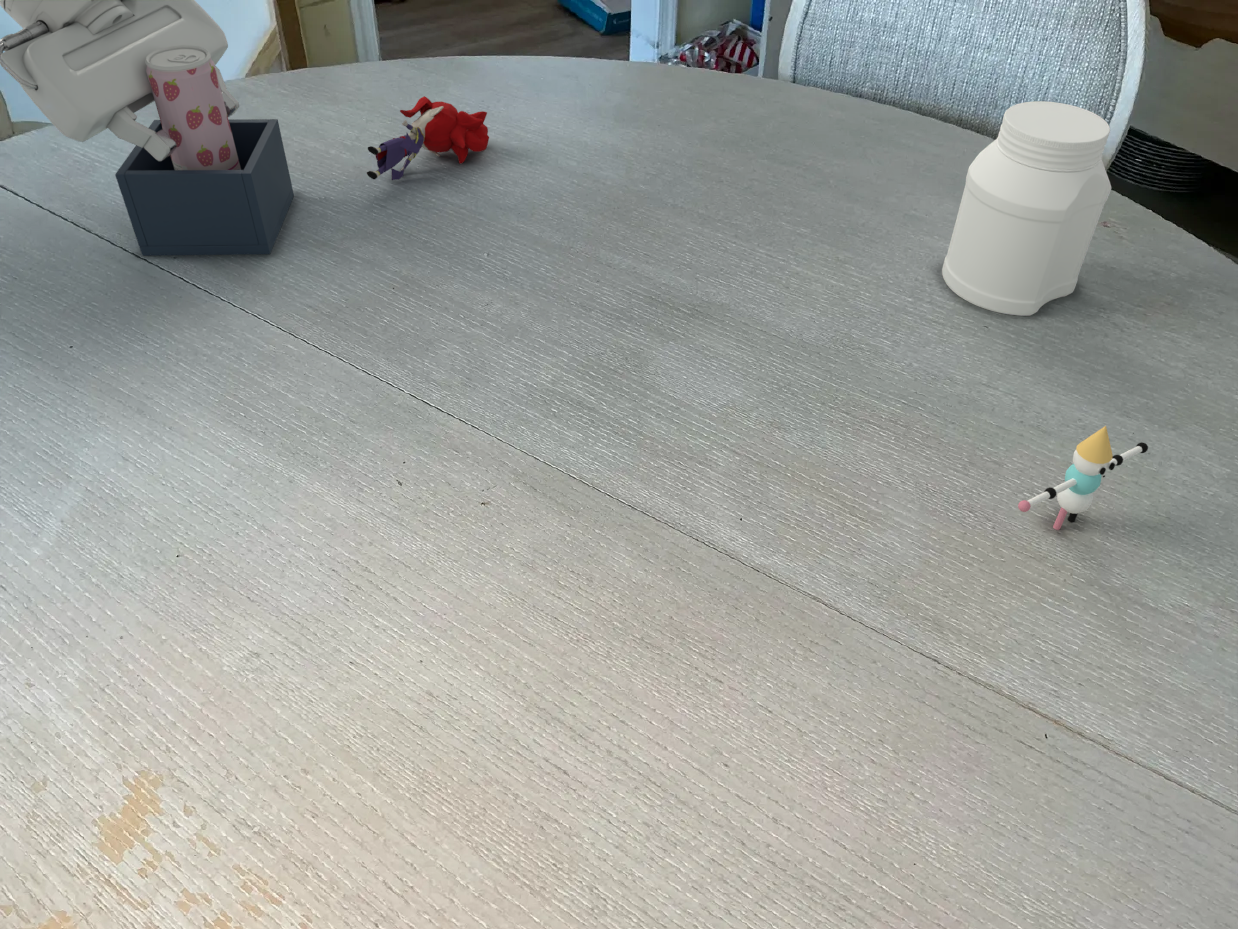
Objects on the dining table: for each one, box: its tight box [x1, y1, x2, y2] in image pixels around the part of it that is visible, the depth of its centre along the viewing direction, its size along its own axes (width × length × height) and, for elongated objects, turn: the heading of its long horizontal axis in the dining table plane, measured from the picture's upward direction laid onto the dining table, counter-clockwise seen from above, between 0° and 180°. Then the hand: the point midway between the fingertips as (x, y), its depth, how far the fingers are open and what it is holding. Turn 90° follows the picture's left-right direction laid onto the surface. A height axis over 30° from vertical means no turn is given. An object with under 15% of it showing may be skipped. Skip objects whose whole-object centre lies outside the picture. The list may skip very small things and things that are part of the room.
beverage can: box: [145, 45, 241, 170], centre depth 92 cm, size 6×6×15 cm
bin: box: [114, 118, 295, 257], centre depth 95 cm, size 12×12×8 cm
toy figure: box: [1017, 425, 1149, 531], centre depth 66 cm, size 12×2×9 cm, turn 121°
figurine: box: [366, 95, 490, 181], centre depth 105 cm, size 6×8×15 cm
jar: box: [941, 100, 1112, 317], centre depth 87 cm, size 12×10×15 cm
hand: (202, 132), depth 91 cm, fingers open, 8 cm apart
